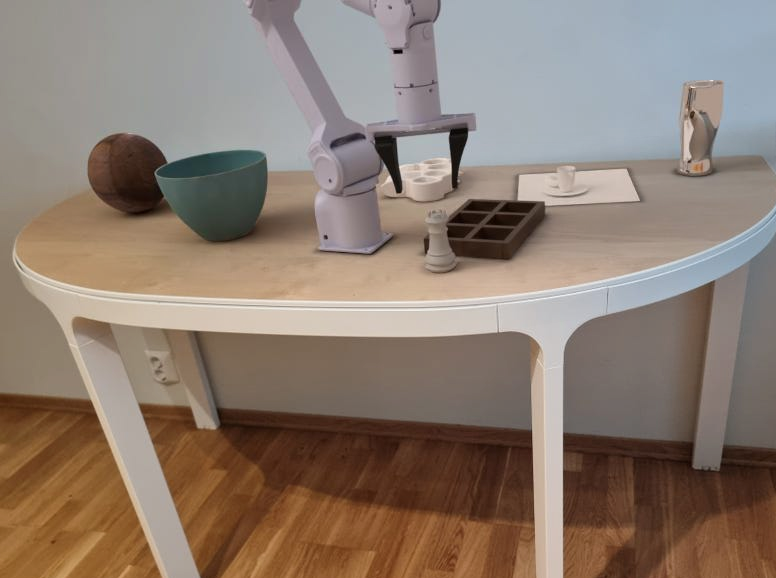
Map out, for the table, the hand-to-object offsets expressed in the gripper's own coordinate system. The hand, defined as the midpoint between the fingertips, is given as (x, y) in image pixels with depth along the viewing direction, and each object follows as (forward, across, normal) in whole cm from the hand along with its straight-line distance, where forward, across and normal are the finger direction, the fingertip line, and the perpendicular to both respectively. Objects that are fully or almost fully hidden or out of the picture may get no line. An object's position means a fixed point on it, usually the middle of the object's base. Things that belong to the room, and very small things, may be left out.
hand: (427, 189), depth 96 cm
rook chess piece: (+11, +1, -3) cm, 11 cm away
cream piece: (+11, +24, +31) cm, 40 cm away
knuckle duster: (+10, -4, +38) cm, 39 cm away
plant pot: (+10, -37, +19) cm, 43 cm away
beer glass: (+11, +45, +35) cm, 58 cm away
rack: (+10, +8, +10) cm, 16 cm away
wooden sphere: (+9, -61, +37) cm, 73 cm away
